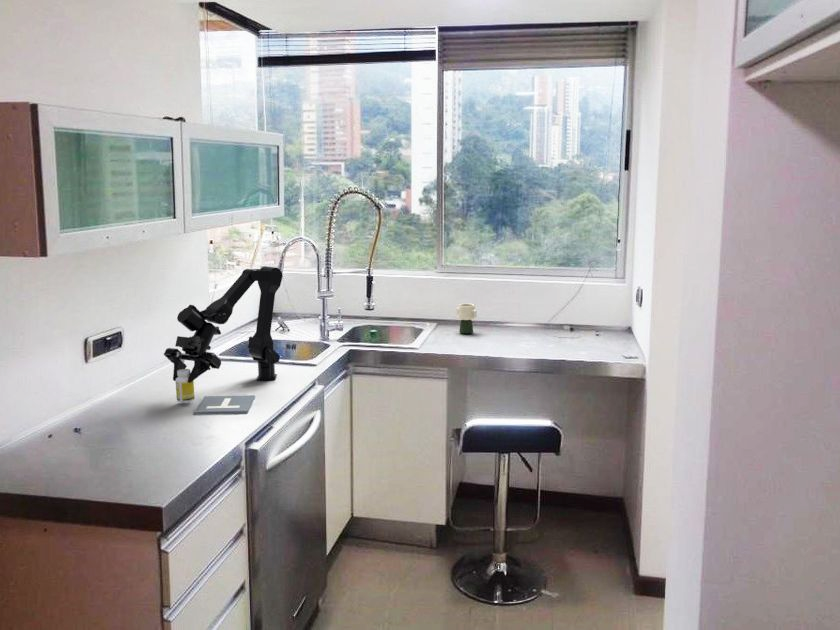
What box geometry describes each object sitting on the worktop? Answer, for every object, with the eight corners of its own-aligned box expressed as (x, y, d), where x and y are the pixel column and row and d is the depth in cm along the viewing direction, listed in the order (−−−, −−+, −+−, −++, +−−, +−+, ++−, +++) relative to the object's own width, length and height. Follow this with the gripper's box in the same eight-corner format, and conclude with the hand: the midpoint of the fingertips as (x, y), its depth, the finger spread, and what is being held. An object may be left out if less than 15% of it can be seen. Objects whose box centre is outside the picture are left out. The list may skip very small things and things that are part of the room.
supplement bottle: (198, 398, 244) (196, 368, 242) (188, 403, 239) (186, 373, 237) (183, 397, 246) (181, 367, 244) (173, 402, 241) (171, 372, 239)
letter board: (204, 398, 248) (204, 396, 248) (254, 397, 249) (254, 394, 249) (194, 414, 232) (193, 411, 232) (247, 413, 233) (247, 410, 233)
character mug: (480, 333, 343) (481, 305, 340) (471, 336, 338) (471, 307, 335) (461, 330, 350) (461, 302, 347) (451, 332, 345) (452, 304, 342)
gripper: (165, 323, 245) (143, 365, 237) (213, 327, 238) (192, 371, 230) (183, 341, 254) (163, 383, 246) (230, 346, 246) (210, 389, 239)
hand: (181, 381), depth 240 cm, fingers closed on supplement bottle, 5 cm apart
